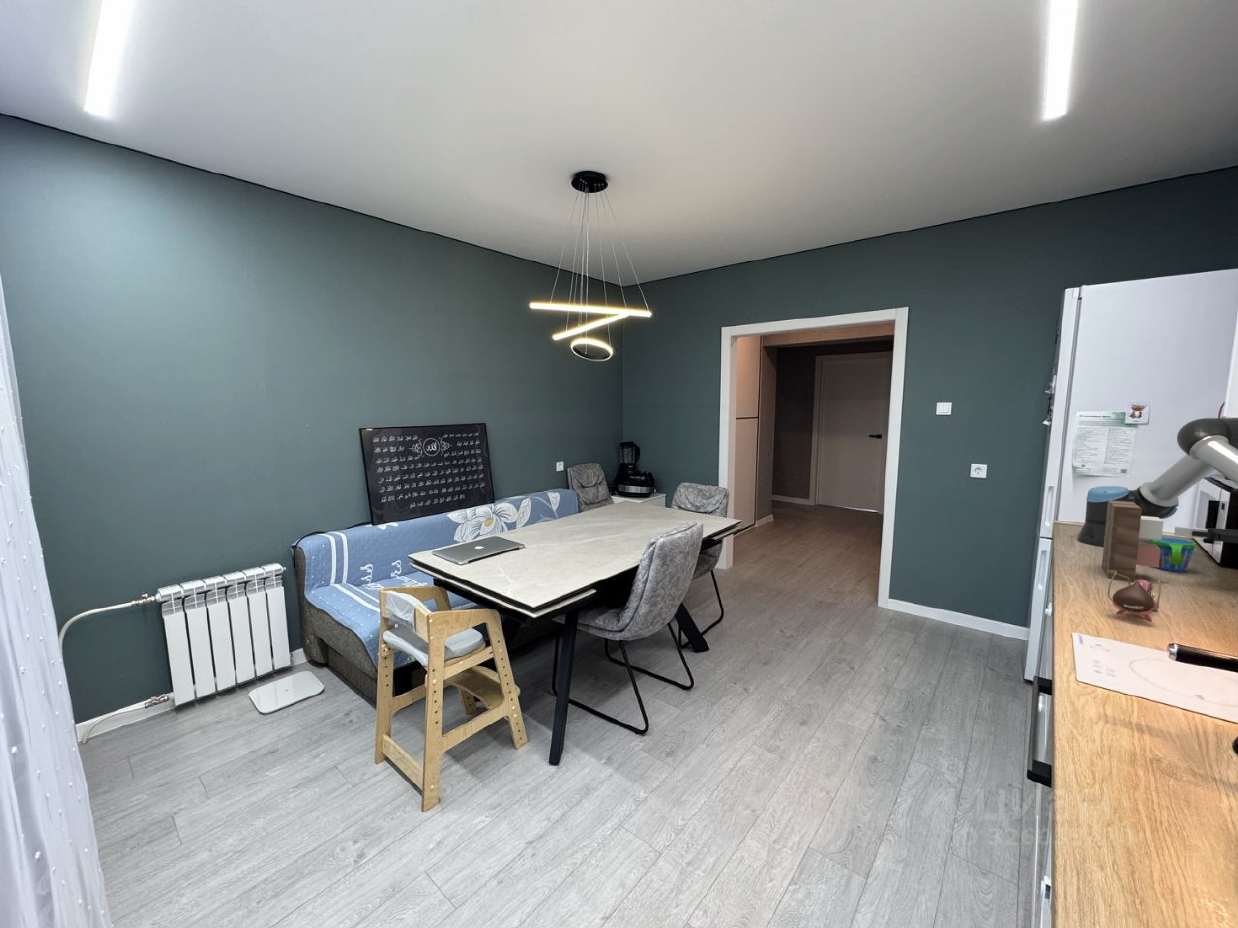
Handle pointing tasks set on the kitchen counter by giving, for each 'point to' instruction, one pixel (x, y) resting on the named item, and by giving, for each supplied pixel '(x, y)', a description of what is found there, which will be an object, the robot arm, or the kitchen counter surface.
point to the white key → (1151, 527)
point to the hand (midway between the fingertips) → (1175, 530)
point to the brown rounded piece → (1136, 597)
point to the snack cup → (1174, 553)
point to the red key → (1148, 555)
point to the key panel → (1121, 539)
